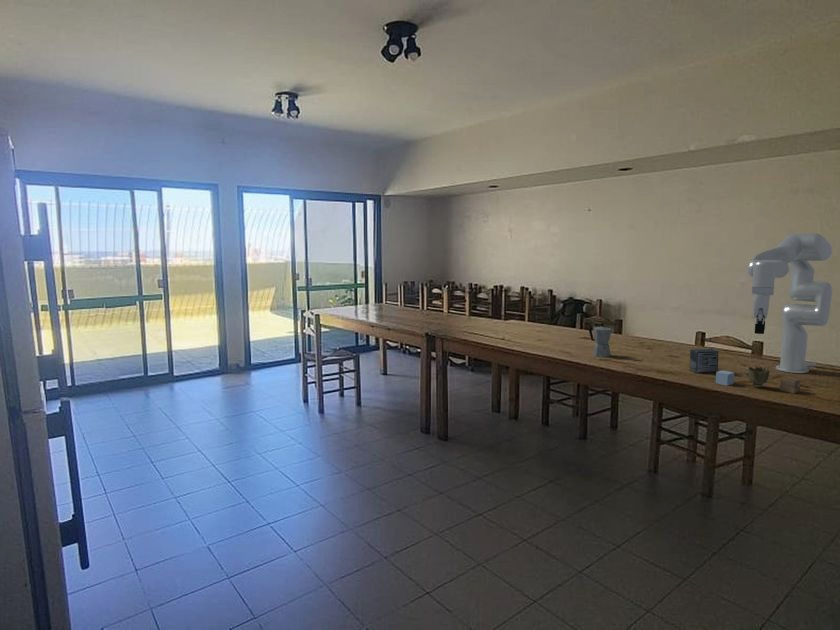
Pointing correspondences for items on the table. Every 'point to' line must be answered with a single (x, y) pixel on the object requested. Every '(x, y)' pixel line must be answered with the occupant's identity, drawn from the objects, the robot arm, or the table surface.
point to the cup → (758, 376)
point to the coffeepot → (601, 340)
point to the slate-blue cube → (725, 377)
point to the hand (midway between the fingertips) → (759, 331)
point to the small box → (704, 360)
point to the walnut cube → (790, 385)
